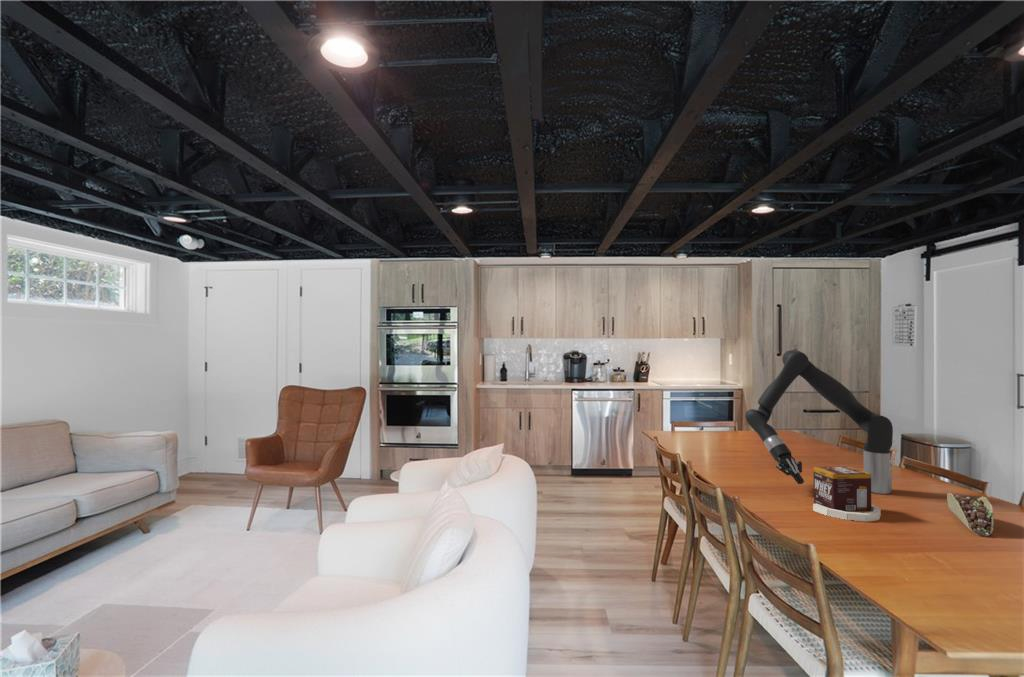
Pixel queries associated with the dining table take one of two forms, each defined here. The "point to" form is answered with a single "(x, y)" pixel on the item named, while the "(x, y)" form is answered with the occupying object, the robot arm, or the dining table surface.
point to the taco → (973, 513)
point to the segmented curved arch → (849, 513)
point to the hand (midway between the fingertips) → (801, 483)
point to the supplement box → (842, 489)
